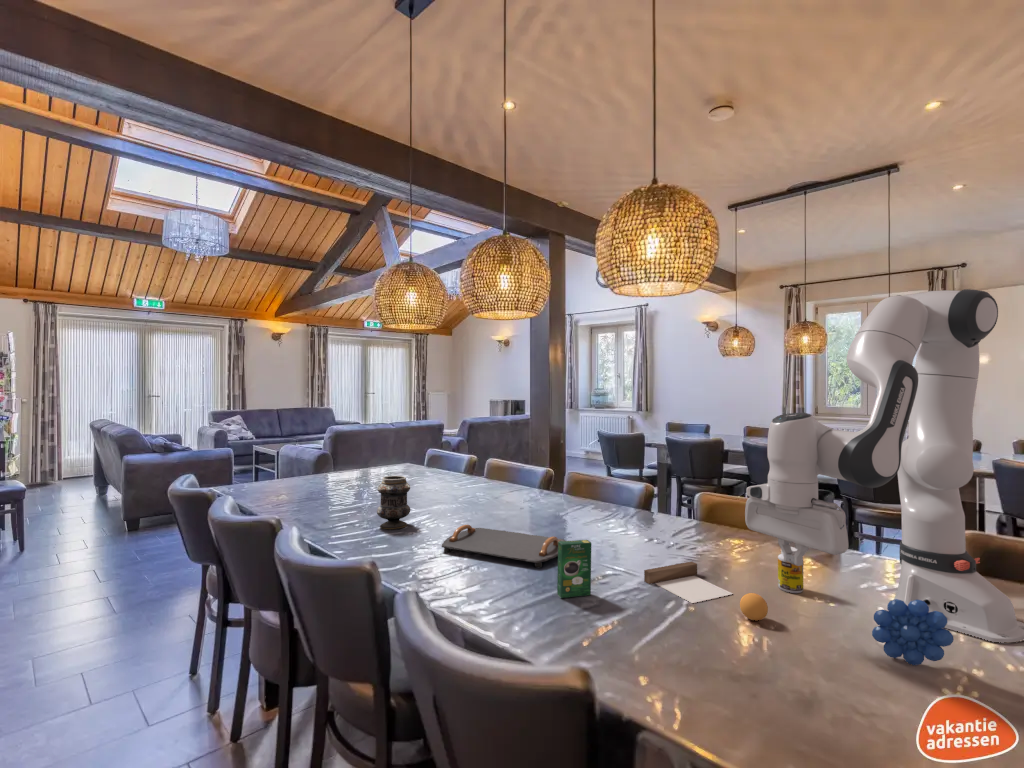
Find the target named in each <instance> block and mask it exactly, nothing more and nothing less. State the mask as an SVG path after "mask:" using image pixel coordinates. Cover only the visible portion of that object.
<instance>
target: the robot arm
mask: <svg viewBox="0 0 1024 768" xmlns="http://www.w3.org/2000/svg"><path fill="white" fill-rule="evenodd" d="M998 317H999V306H998V304H997V301H996V299H995V298H994V296H992V295H991V294H990V293H989V292H988V291H984V290H978V289H971V288H969V289H967V288H965V289H961V290H950V289H949V290H948V289H947V290H945V289H944V290H928V291H925V292H917V293H911V294H904V295H900V294H899V295H898V294H897V295H892V296H888V297H886V298H883V299H882V300H880V301H879V302H877V304H876V305H875V307H873V309H872V310H871V311H870V313H869V314H868V315H867V316H866V318H865V319H864V321H863V322H862V324H861V326H859V329H858V331H857V333H856V334H855V336H854V338H853V340H852V341H851V343H850V346H849V348H848V350H847V354H846V363H847V366H848V368H849V370H850V371H851V373H852V374H853V375H854V376H855V377H856V378H857V379H859V380H860V381H862V382H863V383H865V384H866V385H869V386H871V387H873V388H875V389H877V395H876V398H875V401H874V404H873V407H872V410H871V414H870V417H869V419H868V423H867V425H866V426H865V427H864V428H862V429H861V430H858V431H851V430H850V431H849V430H841V429H833V428H832V427H830V426H826V425H824V424H822V423H821V422H819V421H818V420H816V419H815V418H814V416H813V415H812V414H810V413H806V412H793V413H790V412H788V413H784V414H780V415H777V416H775V417H773V418H772V419H771V421H770V423H769V428H768V432H767V443H766V444H767V451H766V452H767V453H766V454H767V459H768V463H769V471H768V474H767V482H764V483H762V484H757V485H750V486H748V487H746V495H747V497H748V498H747V499H746V501H745V509H744V510H745V511H744V517H745V519H744V520H745V525H746V526H747V529H749V530H750V531H753V532H757V533H760V534H764V535H767V536H770V537H774V538H777V542H778V543H777V544H778V545H779V548H780V550H782V552H783V553H784V561H785V562H788V563H791V564H793V565H796V566H801V565H802V564H803V565H804V556H805V555H806V553H807V552H808V550H809V549H812V550H813V549H814V550H816V551H820V552H823V553H827V554H830V555H833V556H834V555H836V556H837V555H840V554H844V553H845V552H847V551H848V549H849V536H848V530H847V524H846V519H847V518H846V512H845V511H844V510H843V508H842V507H841V506H839V505H838V504H837V503H835V502H830V501H825V500H822V499H819V479H818V476H819V475H820V476H826V477H829V478H833V479H838V480H843V481H845V482H846V481H847V482H850V483H852V484H855V485H858V486H861V487H865V488H869V489H875V488H879V487H882V486H884V485H886V484H888V483H889V482H890V481H891V480H892V479H894V478H895V476H896V475H897V480H898V481H897V483H898V492H899V500H900V510H901V512H900V513H901V541H900V542H899V562H900V574H899V581H898V586H897V589H896V594H895V596H894V598H893V600H895V599H898V600H902V601H904V602H905V604H906V605H907V606H908V604H909V603H910V602H911V601H913V600H917V599H918V600H921V601H924V602H925V603H926V604H927V605H928V606H929V612H932V611H938V612H941V613H943V614H944V615H945V616H946V618H947V625H946V626H945V627H944V628H943V629H946V630H951V631H955V632H957V631H958V633H961V632H962V633H961V634H964V633H965V635H967V634H969V635H968V636H970V635H972V636H971V637H974V636H976V637H975V638H977V637H979V638H978V639H980V638H982V639H981V640H984V639H985V640H984V641H987V640H988V641H987V642H990V641H992V642H991V643H994V642H999V643H998V644H1005V643H1004V642H1016V641H1020V640H1023V639H1024V622H1022V621H1020V620H1019V621H1018V620H1017V616H1016V611H1015V608H1014V604H1013V602H1012V600H1011V599H1010V598H1009V596H1008V595H1006V594H1005V593H1004V592H1002V591H1001V590H1000V589H998V588H997V587H996V586H995V585H993V584H992V583H991V582H990V581H989V580H988V579H986V578H985V577H984V576H982V574H980V573H979V572H978V571H977V564H980V563H981V562H980V561H981V560H980V559H981V558H980V557H975V558H974V557H972V555H970V554H969V552H968V551H967V550H966V515H965V511H964V508H963V504H962V500H961V499H962V498H961V493H960V488H962V487H964V486H966V485H967V484H968V483H969V482H970V481H971V480H972V478H973V475H974V471H975V468H974V463H973V461H974V460H973V457H974V456H973V455H974V454H973V453H974V432H973V429H974V428H973V415H974V414H973V413H974V406H975V400H976V394H977V387H978V381H979V372H980V345H979V343H980V342H982V340H984V339H985V338H986V337H987V336H988V335H989V334H990V333H991V332H992V331H993V329H994V328H995V327H996V324H997V322H998ZM917 352H918V354H917ZM916 355H917V358H916V360H915V365H914V366H913V363H914V359H915V356H916ZM907 428H908V437H907V438H906V439H905V440H904V438H905V434H906V432H907ZM792 543H793V544H794V547H795V548H796V549H797V551H796V553H793V552H792V550H791V547H792V546H790V545H791V544H792ZM929 612H928V613H929ZM1023 641H1024V640H1023ZM1000 642H1001V643H1000ZM1020 642H1021V641H1020ZM1016 643H1017V642H1016Z"/></svg>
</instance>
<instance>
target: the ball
mask: <svg viewBox="0 0 1024 768" xmlns="http://www.w3.org/2000/svg"><path fill="white" fill-rule="evenodd" d="M739 608H740V611H741V613H742V614H743V615H744V616H745V617H746V618H747V619H749V620H751V621H754V620H755V622H757V621H758V620H759V621H762V620H763V619H765V618H766V617H767V615H768V614H769V613H768V611H769V606H768V603H767V601H766V599H765V598H763V597H762V596H761V595H760V594H758V593H754V592H750V593H746V594H744V595H743V596H742V597H741V598H740V601H739Z"/></svg>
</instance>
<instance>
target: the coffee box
mask: <svg viewBox="0 0 1024 768" xmlns="http://www.w3.org/2000/svg"><path fill="white" fill-rule="evenodd" d="M591 574H592V542H591V541H590V540H588V539H577V540H576V539H575V540H565V541H558V556H557V575H556V577H557V583H556V585H557V586H556V588H557V590H556V591H557V592H556V593H557V596H558V597H559V598H560V599H569V598H576V597H587V596H591V595H592V594H591V593H592V592H591V591H592V584H591V583H592V575H591Z"/></svg>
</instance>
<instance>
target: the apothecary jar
mask: <svg viewBox="0 0 1024 768" xmlns="http://www.w3.org/2000/svg"><path fill="white" fill-rule="evenodd" d="M409 491H411V485H410V483H409V482H408V481H407V477H406V476H403V475H386V476H382V481H381V483H379V484H378V486H377V492H379V494H380V505H379V506H378V507H377V510H376V514H377V515H378V517H380V518H382V519H383V520H386V521H384V522H383V523H381V524H380V525H379V527H380V529H383V530H399V529H403V528H406V527H407V526H408V523H407V522H406V521H404V520H401V519H403V518H406V517H407V516H408V515H410V512H411V507H410V506H409V505H408V493H409Z"/></svg>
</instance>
